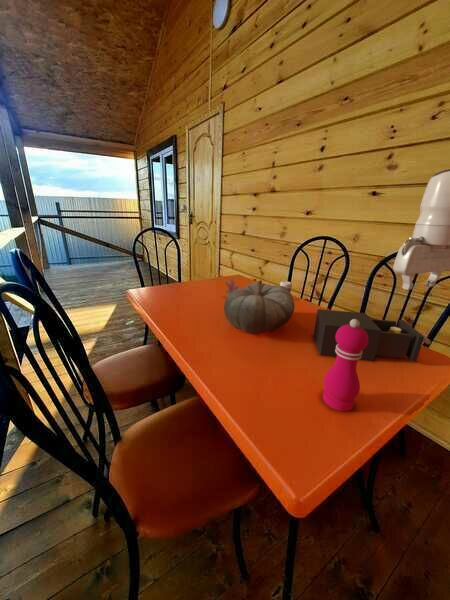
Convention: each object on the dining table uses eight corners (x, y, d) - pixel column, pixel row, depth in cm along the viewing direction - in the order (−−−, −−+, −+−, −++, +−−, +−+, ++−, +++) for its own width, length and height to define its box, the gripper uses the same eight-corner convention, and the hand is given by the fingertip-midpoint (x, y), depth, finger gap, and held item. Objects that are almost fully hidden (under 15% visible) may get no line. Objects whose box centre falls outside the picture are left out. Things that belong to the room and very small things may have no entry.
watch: (400, 352, 74) (406, 333, 72) (390, 350, 75) (395, 332, 73) (391, 342, 80) (396, 325, 78) (382, 341, 80) (386, 324, 78)
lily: (221, 305, 114) (231, 289, 110) (211, 289, 122) (221, 273, 118) (241, 308, 122) (251, 293, 117) (231, 293, 129) (240, 278, 125)
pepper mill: (323, 386, 61) (338, 309, 55) (356, 397, 58) (376, 317, 51) (317, 404, 56) (333, 321, 49) (353, 418, 52) (376, 330, 45)
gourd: (305, 317, 95) (304, 273, 88) (278, 354, 77) (274, 303, 70) (247, 308, 109) (242, 269, 102) (213, 338, 91) (204, 294, 84)
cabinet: (359, 340, 85) (365, 313, 82) (373, 361, 73) (381, 330, 70) (313, 335, 87) (317, 309, 84) (320, 355, 75) (325, 325, 72)
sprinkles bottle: (276, 311, 107) (279, 280, 103) (287, 312, 107) (291, 281, 102) (277, 315, 103) (281, 283, 98) (289, 316, 103) (293, 284, 98)
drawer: (411, 343, 82) (418, 321, 79) (432, 363, 71) (441, 338, 68) (352, 337, 84) (357, 315, 82) (364, 356, 74) (370, 331, 71)
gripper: (419, 238, 60) (403, 294, 64) (470, 237, 67) (453, 287, 71) (393, 236, 65) (381, 287, 70) (443, 235, 72) (429, 282, 77)
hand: (418, 287), depth 71 cm, fingers open, 8 cm apart
